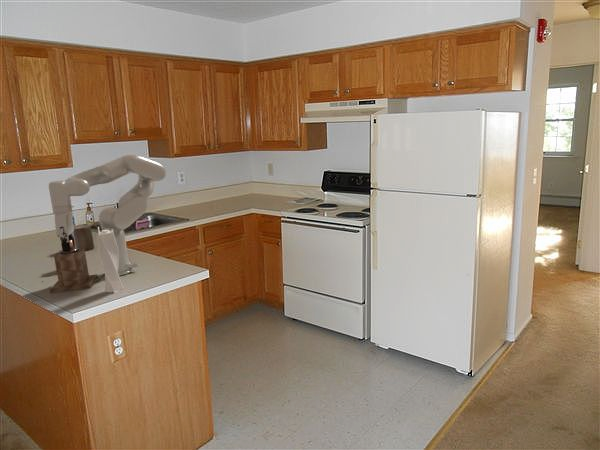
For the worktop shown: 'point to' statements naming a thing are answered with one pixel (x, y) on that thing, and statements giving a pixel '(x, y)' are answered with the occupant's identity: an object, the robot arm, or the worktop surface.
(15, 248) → the worktop surface
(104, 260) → the skyscraper
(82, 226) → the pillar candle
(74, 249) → the plunger
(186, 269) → the worktop surface
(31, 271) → the worktop surface
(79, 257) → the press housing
